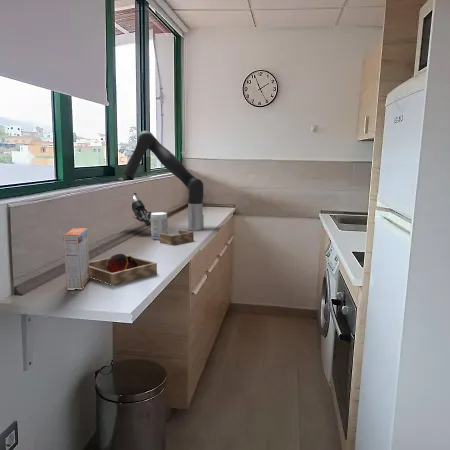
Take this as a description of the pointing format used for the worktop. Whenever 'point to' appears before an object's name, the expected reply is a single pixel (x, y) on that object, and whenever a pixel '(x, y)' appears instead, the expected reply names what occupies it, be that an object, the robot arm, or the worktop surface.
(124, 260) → the red oval lump
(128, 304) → the worktop surface
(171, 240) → the cradle
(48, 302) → the worktop surface
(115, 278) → the fruit corral
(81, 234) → the cracker box
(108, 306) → the worktop surface
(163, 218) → the supplement tub
